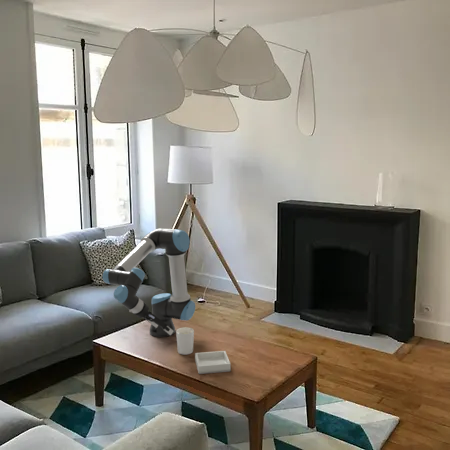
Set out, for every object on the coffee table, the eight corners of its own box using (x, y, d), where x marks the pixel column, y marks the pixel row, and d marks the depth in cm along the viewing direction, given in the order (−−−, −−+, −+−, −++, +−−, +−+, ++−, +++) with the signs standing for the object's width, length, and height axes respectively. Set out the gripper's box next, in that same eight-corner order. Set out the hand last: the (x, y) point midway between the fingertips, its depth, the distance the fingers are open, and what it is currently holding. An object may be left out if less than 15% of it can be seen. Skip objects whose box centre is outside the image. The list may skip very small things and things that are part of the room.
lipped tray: (195, 360, 272) (194, 353, 271) (225, 357, 275) (225, 350, 274) (198, 374, 257) (198, 366, 256) (230, 371, 259) (230, 363, 258)
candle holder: (191, 355, 277) (191, 334, 275) (174, 354, 279) (173, 333, 277) (196, 348, 287) (196, 327, 285) (179, 347, 289) (178, 326, 287)
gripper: (121, 307, 268) (147, 328, 280) (147, 320, 249) (173, 342, 261) (130, 295, 271) (156, 317, 283) (156, 307, 252) (182, 329, 264)
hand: (164, 329), depth 272 cm, fingers open, 13 cm apart
